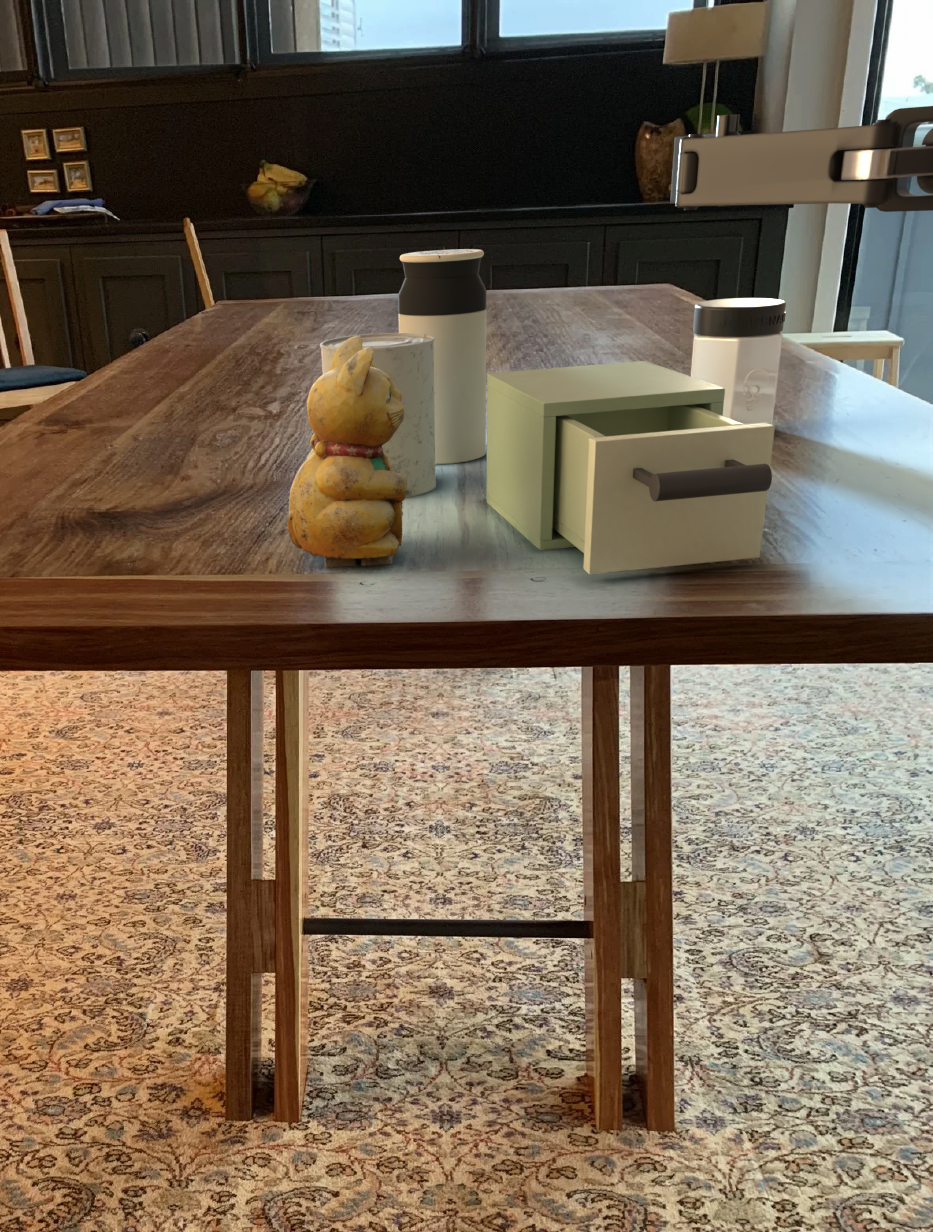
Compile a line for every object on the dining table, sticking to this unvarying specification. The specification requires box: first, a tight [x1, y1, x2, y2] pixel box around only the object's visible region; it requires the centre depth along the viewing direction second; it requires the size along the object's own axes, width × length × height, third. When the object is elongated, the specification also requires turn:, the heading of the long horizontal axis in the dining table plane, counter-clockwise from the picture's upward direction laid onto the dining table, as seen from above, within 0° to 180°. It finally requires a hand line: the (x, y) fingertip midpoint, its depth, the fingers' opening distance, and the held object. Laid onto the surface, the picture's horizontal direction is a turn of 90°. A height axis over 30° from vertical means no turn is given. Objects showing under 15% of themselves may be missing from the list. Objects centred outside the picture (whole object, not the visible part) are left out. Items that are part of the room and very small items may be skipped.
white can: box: [319, 332, 437, 498], centre depth 102 cm, size 10×10×12 cm
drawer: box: [552, 404, 776, 575], centre depth 80 cm, size 18×12×8 cm, turn 8°
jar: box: [689, 297, 787, 425], centre depth 115 cm, size 9×8×12 cm
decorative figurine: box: [286, 335, 407, 568], centre depth 83 cm, size 10×8×15 cm
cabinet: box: [486, 360, 725, 551], centre depth 90 cm, size 15×13×10 cm
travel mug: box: [397, 248, 487, 465], centre depth 111 cm, size 8×8×18 cm
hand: (818, 161), depth 56 cm, fingers open, 13 cm apart
